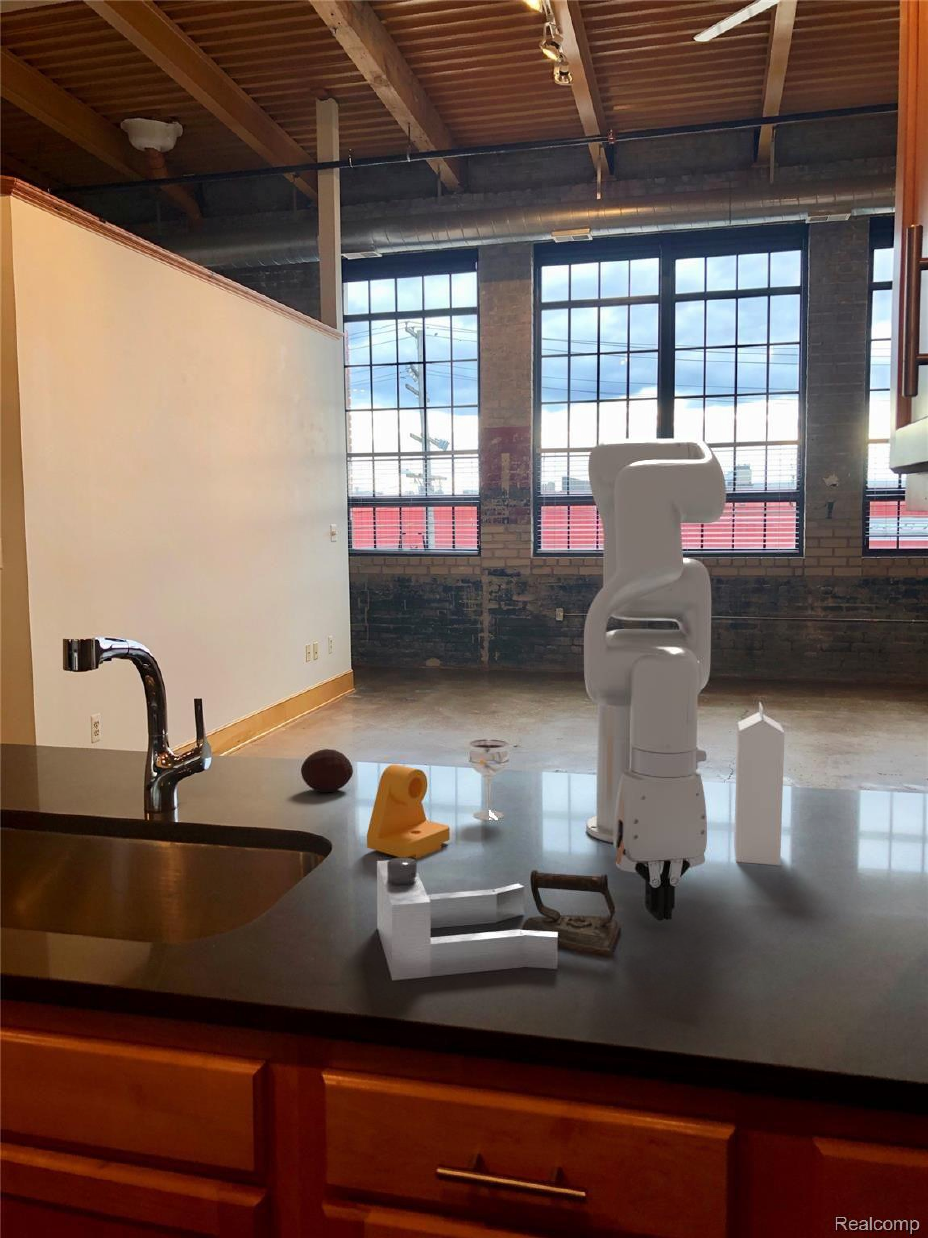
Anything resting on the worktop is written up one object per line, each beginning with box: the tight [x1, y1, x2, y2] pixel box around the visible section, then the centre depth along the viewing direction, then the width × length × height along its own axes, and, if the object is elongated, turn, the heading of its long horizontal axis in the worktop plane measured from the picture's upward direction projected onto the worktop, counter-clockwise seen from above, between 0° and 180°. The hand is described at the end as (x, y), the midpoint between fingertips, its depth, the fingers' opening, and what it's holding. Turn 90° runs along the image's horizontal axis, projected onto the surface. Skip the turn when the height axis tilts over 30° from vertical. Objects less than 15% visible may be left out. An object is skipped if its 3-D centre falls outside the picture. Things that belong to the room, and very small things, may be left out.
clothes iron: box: [521, 869, 622, 958], centre depth 103 cm, size 7×11×10 cm, turn 72°
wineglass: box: [467, 738, 510, 821], centre depth 149 cm, size 7×7×12 cm
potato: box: [300, 748, 354, 793], centre depth 163 cm, size 8×9×8 cm
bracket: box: [366, 764, 451, 860], centre depth 133 cm, size 11×7×12 cm, turn 142°
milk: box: [733, 701, 786, 866], centre depth 129 cm, size 6×6×22 cm
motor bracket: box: [376, 857, 559, 981], centre depth 101 cm, size 18×15×10 cm
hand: (659, 915), depth 106 cm, fingers closed
